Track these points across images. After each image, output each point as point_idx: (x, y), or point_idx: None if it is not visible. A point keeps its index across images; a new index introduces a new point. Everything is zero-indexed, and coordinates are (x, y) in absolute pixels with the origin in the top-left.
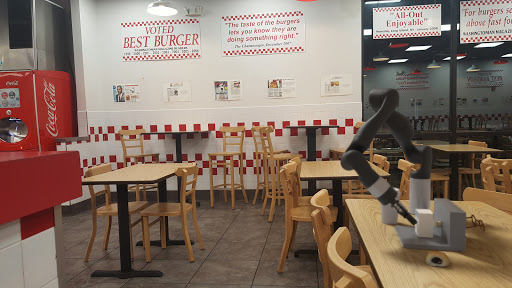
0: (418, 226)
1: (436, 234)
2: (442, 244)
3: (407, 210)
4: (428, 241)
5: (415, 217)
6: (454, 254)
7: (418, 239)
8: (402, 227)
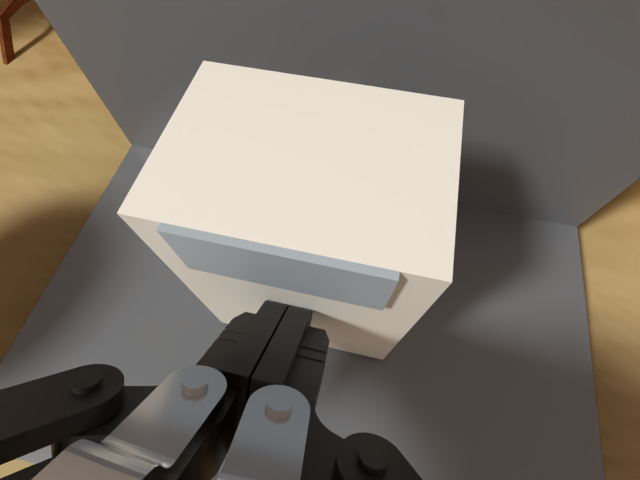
0: (382, 335)
1: None
2: (544, 253)
3: (102, 379)
4: (486, 323)
5: (178, 274)
6: (627, 243)
7: (443, 387)
8: None
